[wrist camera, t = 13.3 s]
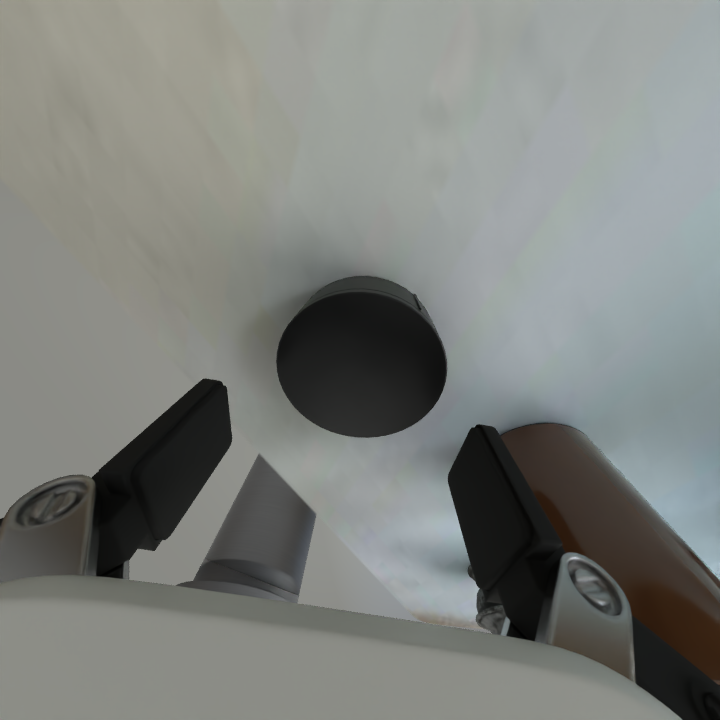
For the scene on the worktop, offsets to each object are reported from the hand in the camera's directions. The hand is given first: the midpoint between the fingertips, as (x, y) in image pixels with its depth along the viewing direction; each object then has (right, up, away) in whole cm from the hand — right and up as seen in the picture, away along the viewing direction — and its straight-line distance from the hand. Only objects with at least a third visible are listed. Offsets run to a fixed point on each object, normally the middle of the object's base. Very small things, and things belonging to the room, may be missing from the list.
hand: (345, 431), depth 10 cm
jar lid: (+1, +2, +2) cm, 3 cm away
